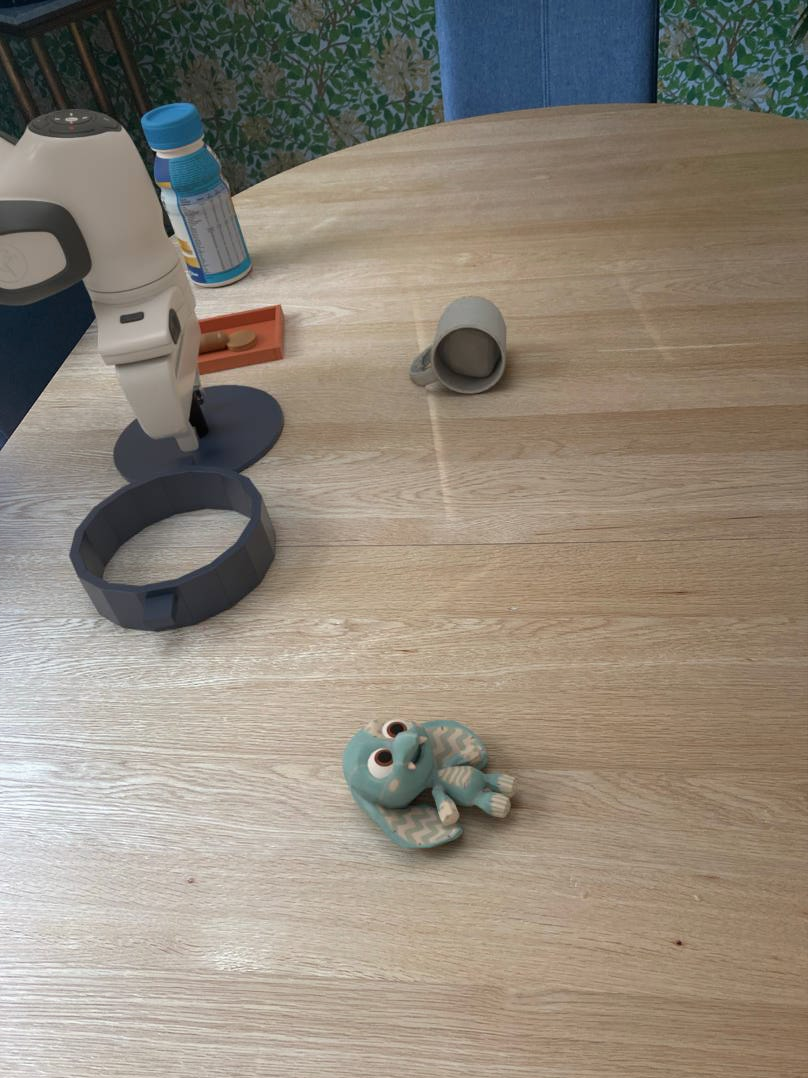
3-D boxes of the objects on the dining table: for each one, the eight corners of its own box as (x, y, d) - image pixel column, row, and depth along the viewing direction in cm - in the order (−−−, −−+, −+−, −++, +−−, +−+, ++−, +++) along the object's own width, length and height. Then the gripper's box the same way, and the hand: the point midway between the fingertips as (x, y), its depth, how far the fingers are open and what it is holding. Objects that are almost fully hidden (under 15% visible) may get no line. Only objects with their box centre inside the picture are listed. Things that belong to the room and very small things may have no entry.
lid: (106, 510, 99) (82, 463, 95) (128, 411, 112) (107, 366, 108) (284, 476, 99) (267, 427, 95) (286, 381, 112) (271, 334, 108)
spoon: (157, 368, 117) (151, 352, 115) (160, 352, 119) (154, 337, 118) (257, 348, 116) (252, 333, 115) (258, 333, 119) (253, 318, 118)
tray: (135, 391, 115) (128, 375, 113) (145, 346, 122) (138, 331, 120) (284, 363, 114) (279, 346, 113) (285, 320, 122) (280, 303, 120)
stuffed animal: (494, 834, 61) (308, 781, 63) (488, 890, 66) (317, 840, 68) (538, 699, 68) (369, 655, 70) (530, 760, 73) (373, 717, 75)
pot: (75, 673, 84) (49, 631, 80) (111, 509, 99) (90, 468, 96) (274, 636, 84) (257, 592, 80) (279, 477, 99) (264, 435, 96)
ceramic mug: (510, 348, 110) (500, 282, 104) (510, 390, 104) (500, 322, 99) (415, 361, 111) (400, 296, 106) (409, 403, 105) (393, 336, 100)
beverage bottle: (235, 290, 129) (180, 125, 115) (179, 289, 132) (118, 127, 117) (265, 259, 134) (216, 97, 120) (210, 258, 137) (156, 99, 123)
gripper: (124, 256, 101) (173, 377, 111) (95, 360, 87) (154, 488, 97) (186, 244, 101) (230, 366, 111) (166, 346, 87) (219, 475, 97)
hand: (194, 423), depth 104 cm, fingers open, 7 cm apart
